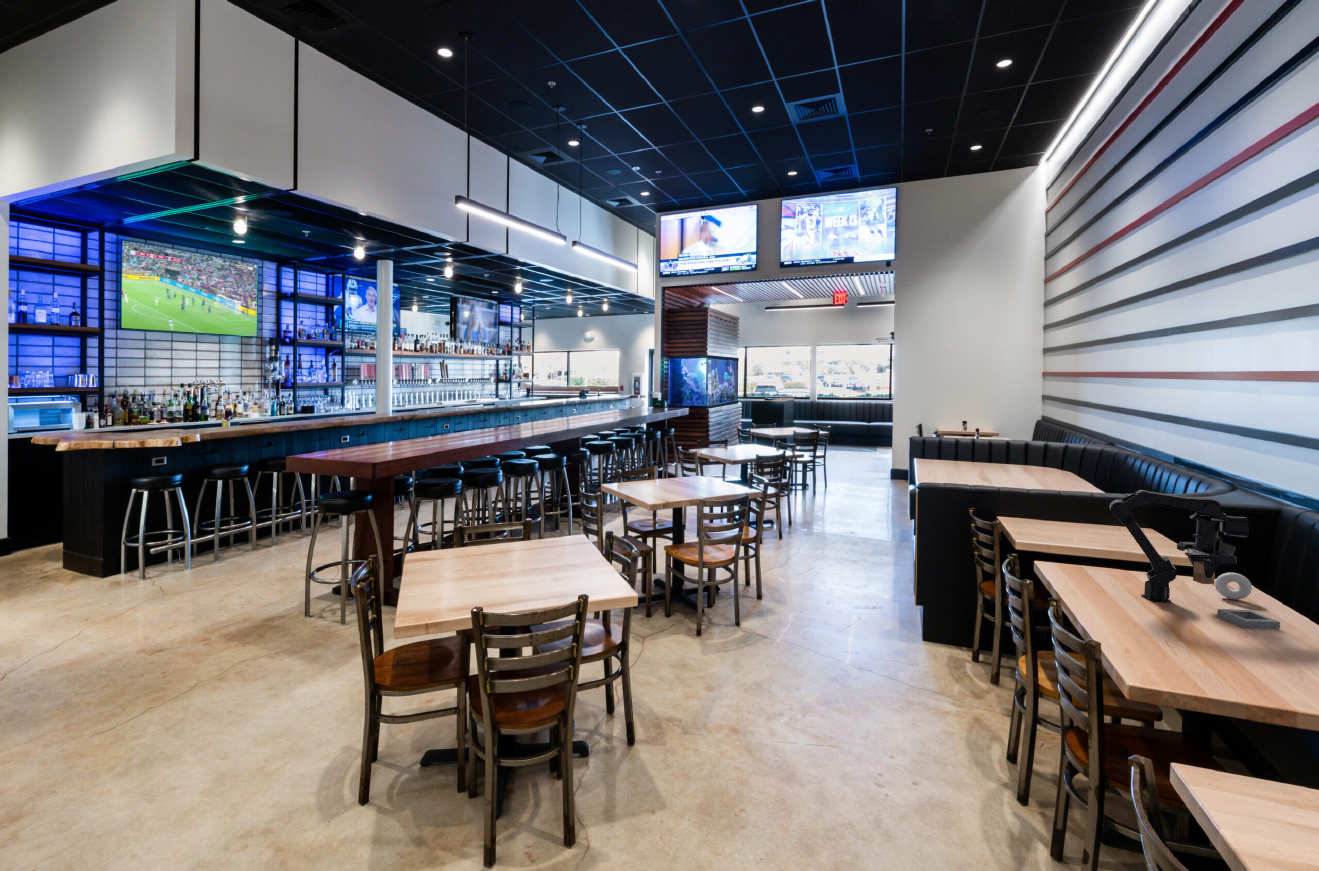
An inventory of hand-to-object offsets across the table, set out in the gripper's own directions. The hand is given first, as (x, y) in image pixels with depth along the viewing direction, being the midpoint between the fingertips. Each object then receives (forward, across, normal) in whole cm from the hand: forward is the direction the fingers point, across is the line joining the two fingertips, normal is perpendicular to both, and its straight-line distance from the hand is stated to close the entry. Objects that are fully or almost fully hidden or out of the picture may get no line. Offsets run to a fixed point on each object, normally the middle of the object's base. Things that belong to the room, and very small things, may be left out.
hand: (1203, 576), depth 214 cm
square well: (+11, -15, -3) cm, 19 cm away
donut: (+11, +8, -17) cm, 22 cm away
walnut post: (+2, 0, 0) cm, 2 cm away
